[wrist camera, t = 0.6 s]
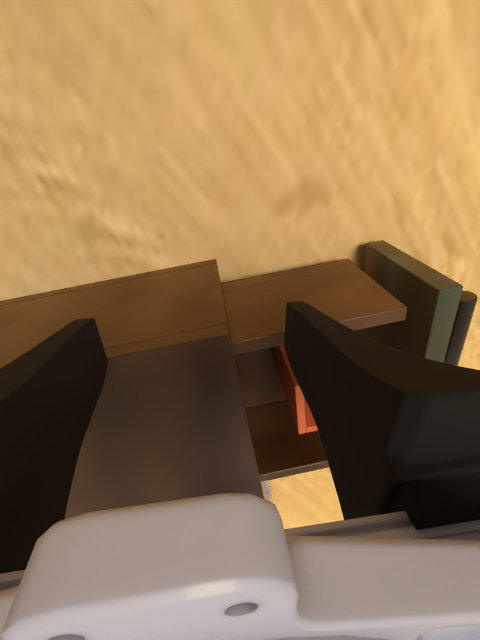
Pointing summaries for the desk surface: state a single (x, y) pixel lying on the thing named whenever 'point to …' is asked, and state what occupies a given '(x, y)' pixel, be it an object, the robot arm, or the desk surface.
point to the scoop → (293, 393)
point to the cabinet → (150, 387)
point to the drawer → (353, 312)
